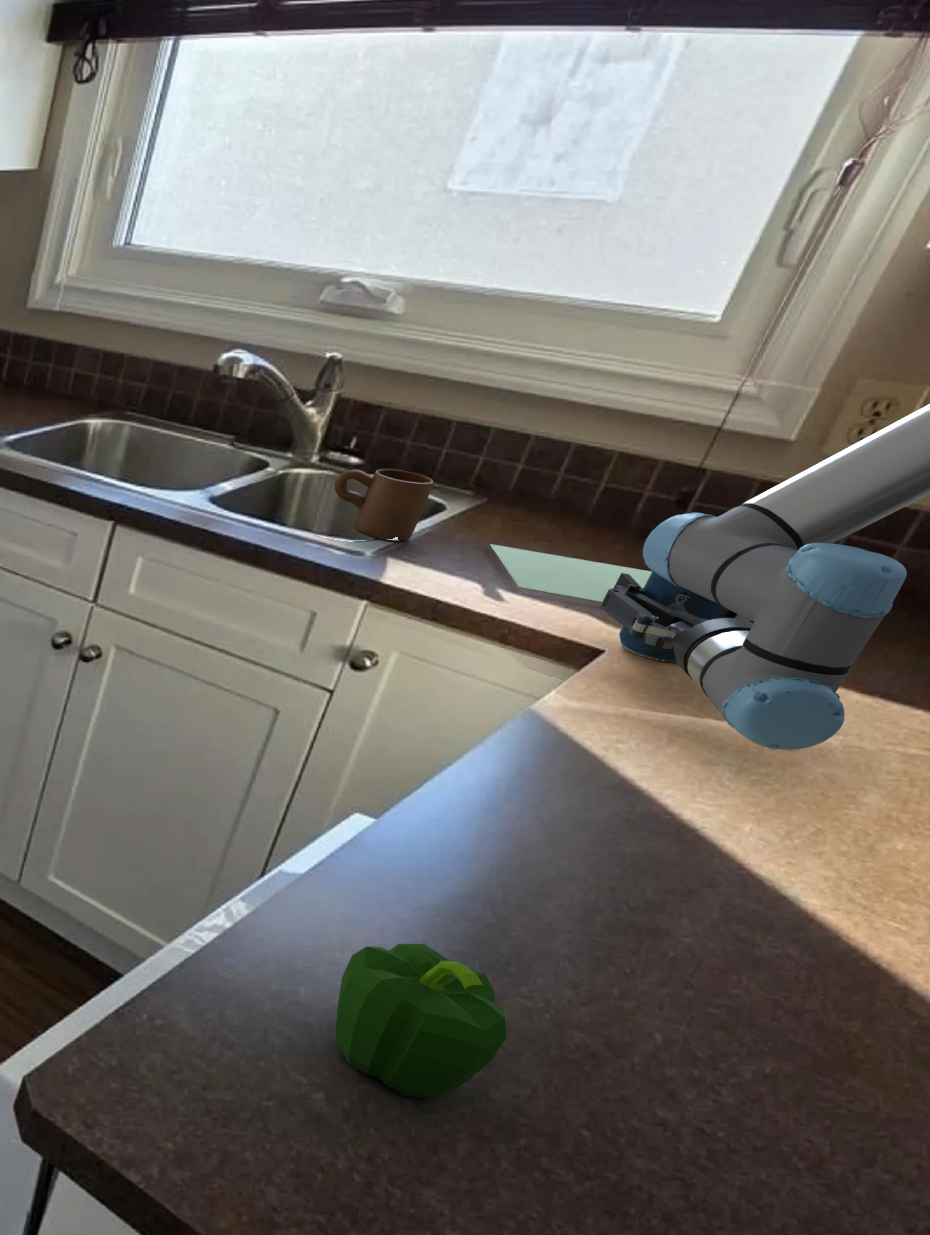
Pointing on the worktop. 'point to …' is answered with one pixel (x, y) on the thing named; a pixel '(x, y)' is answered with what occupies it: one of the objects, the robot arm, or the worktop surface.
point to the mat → (564, 573)
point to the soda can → (674, 600)
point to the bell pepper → (417, 1019)
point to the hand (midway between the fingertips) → (664, 591)
